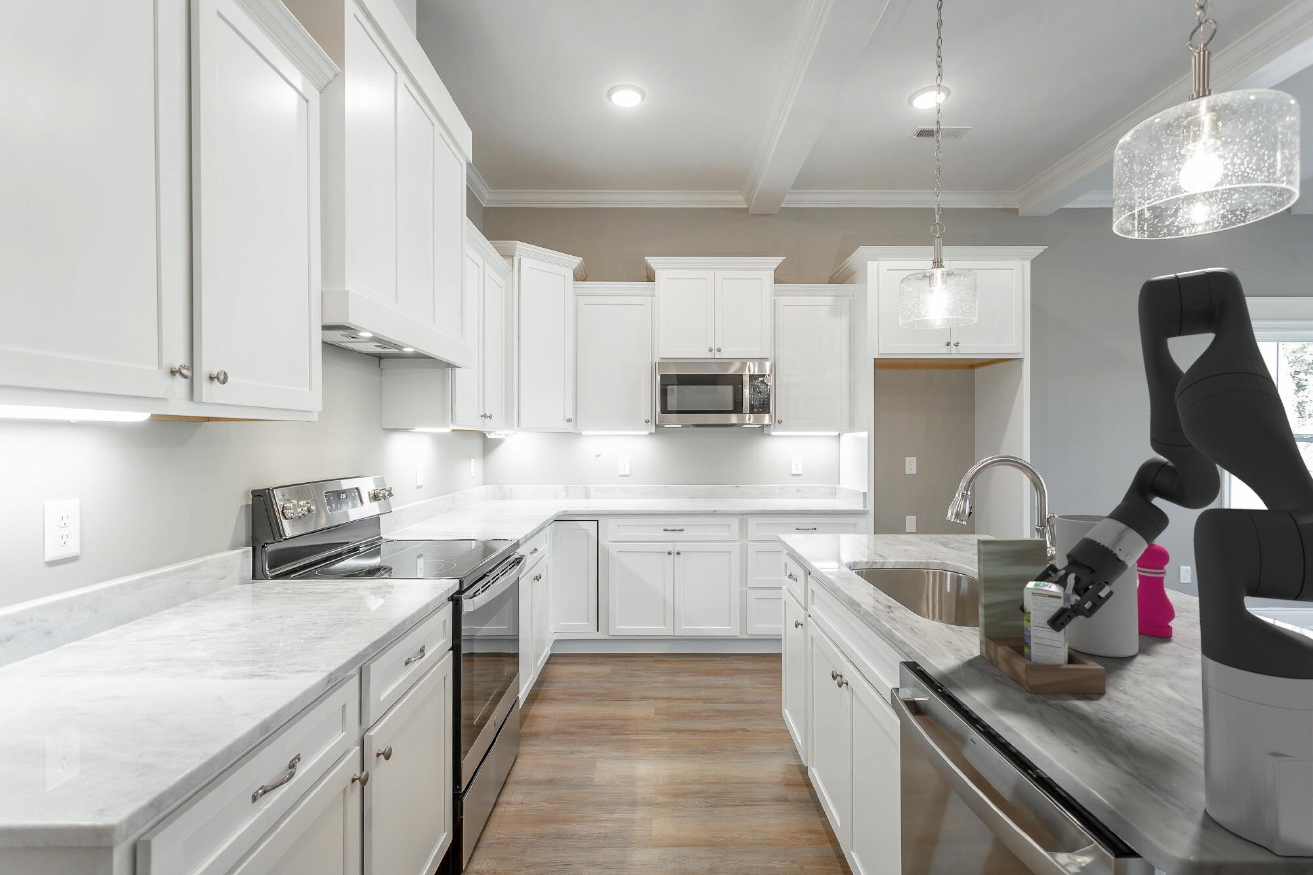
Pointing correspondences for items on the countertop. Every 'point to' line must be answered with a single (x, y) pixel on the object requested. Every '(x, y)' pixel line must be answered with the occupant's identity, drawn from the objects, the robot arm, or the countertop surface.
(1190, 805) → the countertop surface
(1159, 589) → the pepper mill
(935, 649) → the countertop surface
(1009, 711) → the countertop surface
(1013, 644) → the wooden tray stand
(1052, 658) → the syrup box
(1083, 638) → the cylinder vase
